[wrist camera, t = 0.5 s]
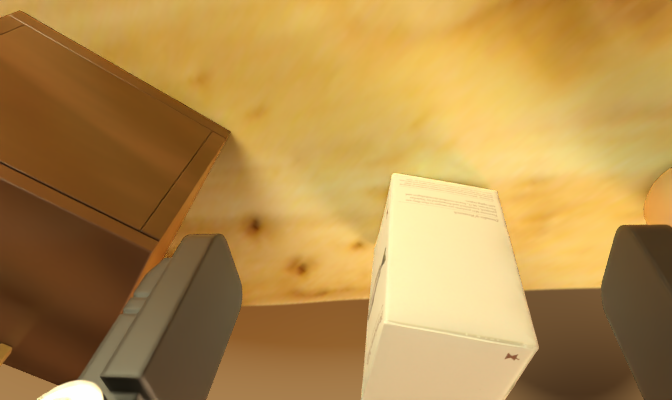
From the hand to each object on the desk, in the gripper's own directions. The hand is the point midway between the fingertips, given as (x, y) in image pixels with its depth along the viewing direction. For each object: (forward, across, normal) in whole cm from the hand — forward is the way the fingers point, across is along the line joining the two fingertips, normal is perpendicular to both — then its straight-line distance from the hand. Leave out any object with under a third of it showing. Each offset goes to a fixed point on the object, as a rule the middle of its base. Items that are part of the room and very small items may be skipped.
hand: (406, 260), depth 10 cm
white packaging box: (+19, -1, +14) cm, 24 cm away
